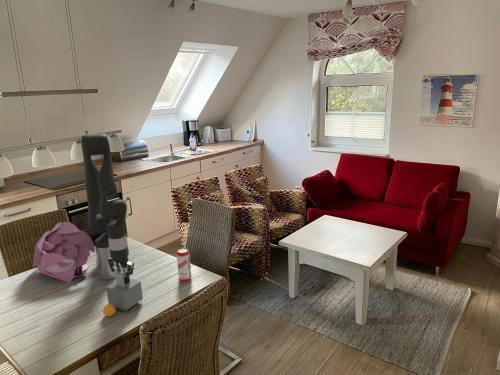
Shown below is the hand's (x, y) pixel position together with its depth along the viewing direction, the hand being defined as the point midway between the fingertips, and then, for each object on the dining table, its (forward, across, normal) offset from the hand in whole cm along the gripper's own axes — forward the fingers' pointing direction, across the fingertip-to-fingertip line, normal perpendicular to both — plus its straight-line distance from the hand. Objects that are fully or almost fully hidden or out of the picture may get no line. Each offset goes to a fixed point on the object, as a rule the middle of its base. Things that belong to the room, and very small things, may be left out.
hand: (123, 282), depth 166 cm
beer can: (+12, +10, +29) cm, 33 cm away
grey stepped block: (+10, 0, 0) cm, 10 cm away
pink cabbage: (+11, -52, +8) cm, 53 cm away
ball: (+9, 0, -9) cm, 13 cm away
